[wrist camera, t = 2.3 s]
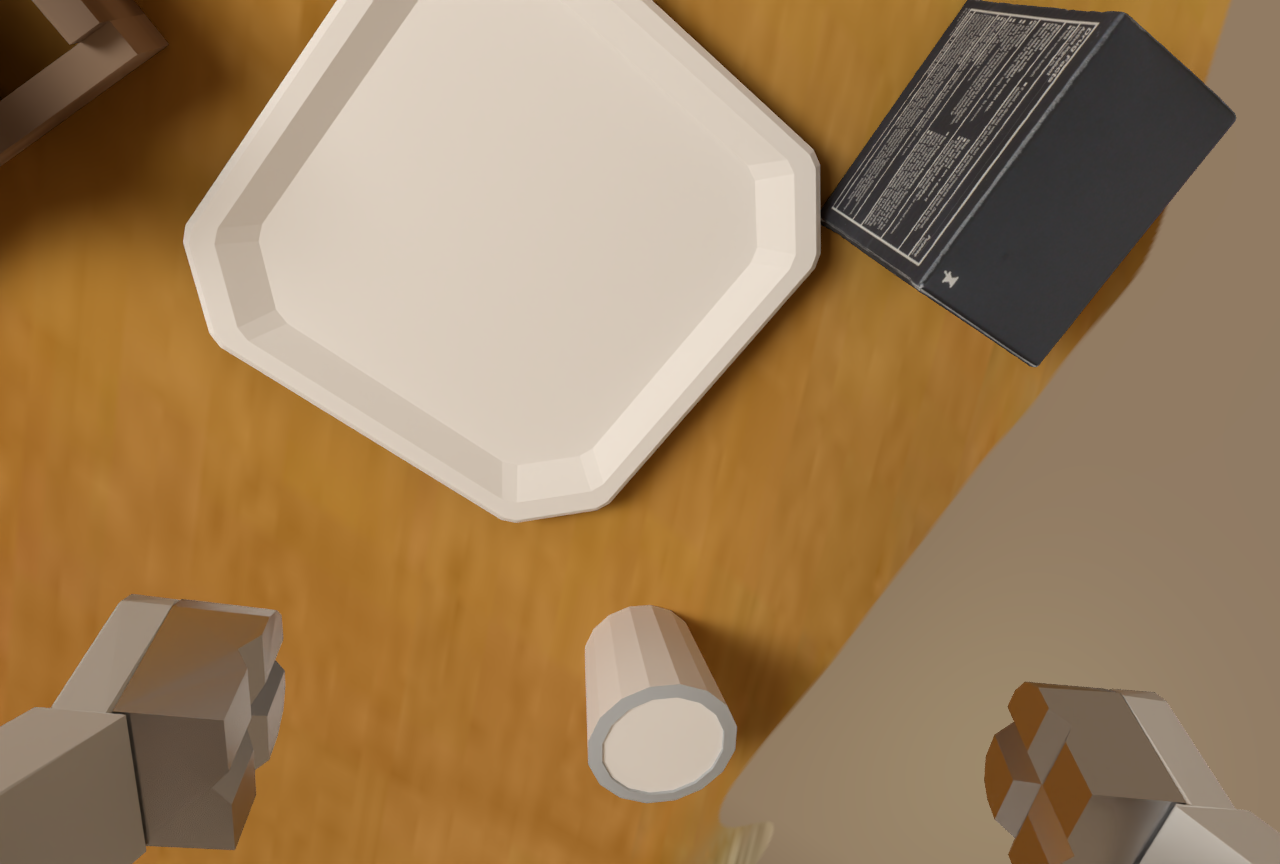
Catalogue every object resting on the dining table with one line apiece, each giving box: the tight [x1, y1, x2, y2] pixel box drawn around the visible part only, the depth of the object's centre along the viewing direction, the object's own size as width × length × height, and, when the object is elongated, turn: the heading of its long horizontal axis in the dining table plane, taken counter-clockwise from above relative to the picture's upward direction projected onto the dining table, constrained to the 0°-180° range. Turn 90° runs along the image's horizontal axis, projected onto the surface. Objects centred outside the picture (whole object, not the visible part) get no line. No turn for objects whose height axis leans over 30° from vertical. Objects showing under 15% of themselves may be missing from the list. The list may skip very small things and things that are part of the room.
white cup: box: [585, 605, 737, 803], centre depth 48 cm, size 7×7×7 cm
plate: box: [183, 0, 821, 523], centre depth 41 cm, size 21×21×2 cm
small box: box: [820, 0, 1236, 367], centre depth 38 cm, size 11×6×10 cm, turn 147°
